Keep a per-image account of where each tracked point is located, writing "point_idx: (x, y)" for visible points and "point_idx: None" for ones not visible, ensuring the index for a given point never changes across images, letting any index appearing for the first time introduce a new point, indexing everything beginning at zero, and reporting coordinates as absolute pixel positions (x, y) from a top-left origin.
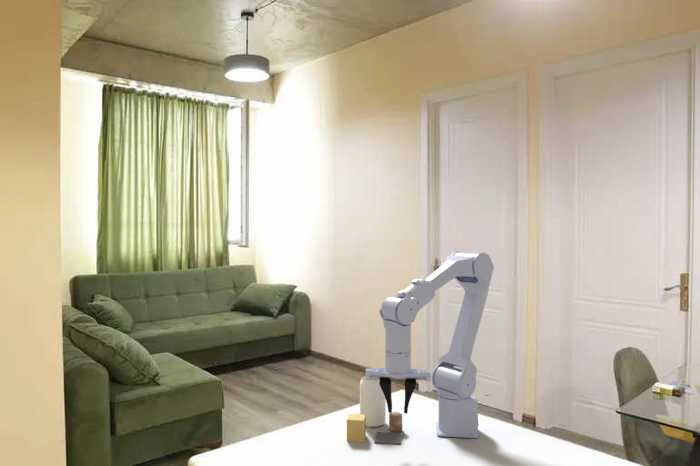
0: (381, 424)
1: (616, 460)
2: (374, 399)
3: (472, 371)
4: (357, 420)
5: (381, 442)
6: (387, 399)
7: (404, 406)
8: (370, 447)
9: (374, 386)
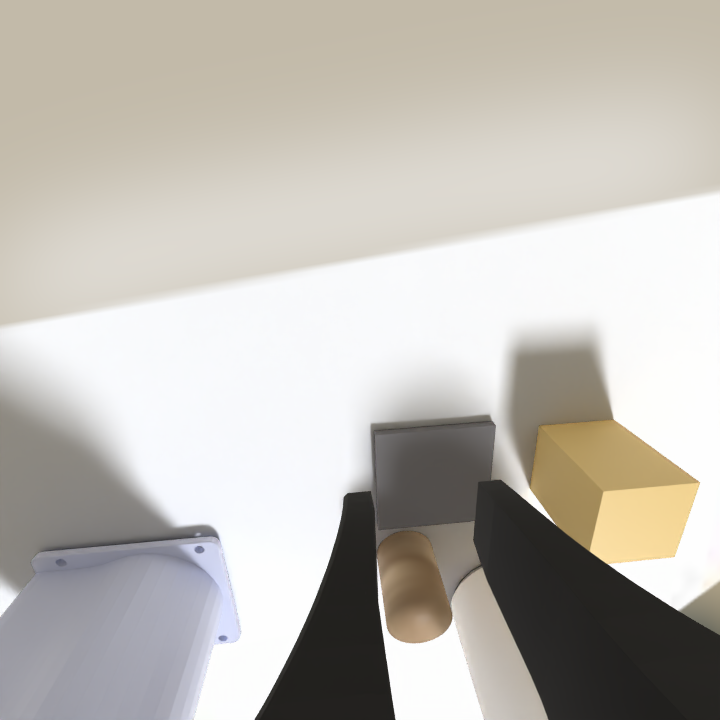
0: (467, 580)
1: None
2: None
3: None
4: (639, 487)
5: (462, 425)
6: (589, 565)
7: (373, 529)
8: (510, 376)
9: None
